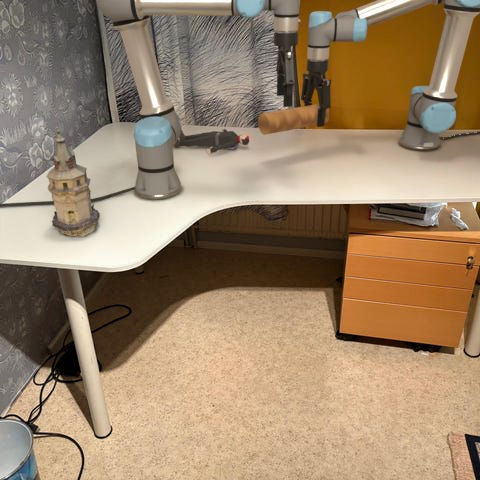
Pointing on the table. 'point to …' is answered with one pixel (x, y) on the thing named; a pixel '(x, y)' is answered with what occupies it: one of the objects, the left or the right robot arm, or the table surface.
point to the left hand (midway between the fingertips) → (284, 100)
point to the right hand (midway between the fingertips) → (314, 123)
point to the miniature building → (70, 193)
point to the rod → (289, 119)
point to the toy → (213, 140)
